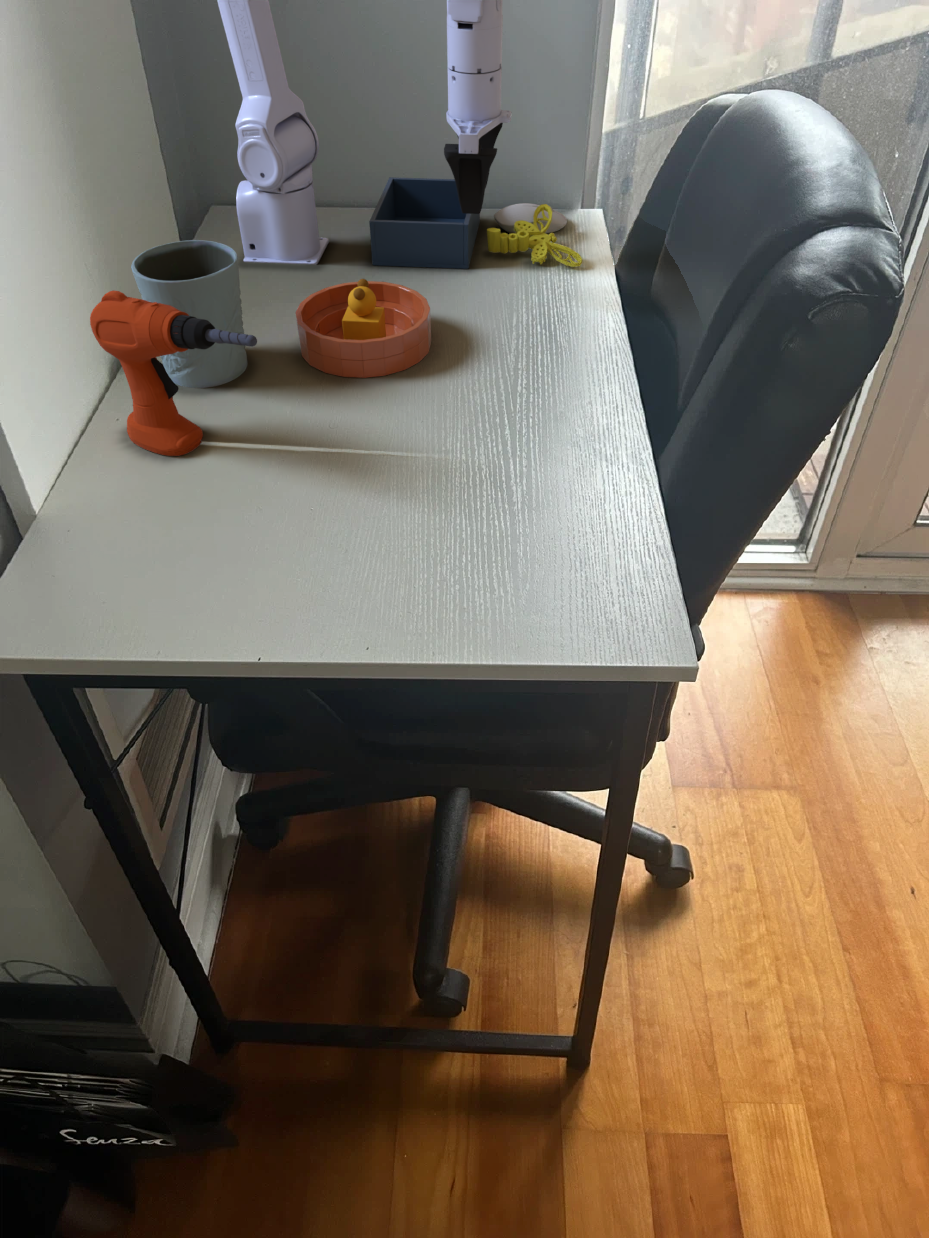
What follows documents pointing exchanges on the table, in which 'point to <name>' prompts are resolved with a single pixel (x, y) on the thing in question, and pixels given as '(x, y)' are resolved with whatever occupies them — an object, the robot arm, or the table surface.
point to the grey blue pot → (197, 304)
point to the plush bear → (363, 315)
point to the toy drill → (155, 364)
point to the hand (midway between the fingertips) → (474, 199)
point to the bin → (422, 225)
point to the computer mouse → (527, 217)
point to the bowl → (370, 356)
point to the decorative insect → (532, 240)
